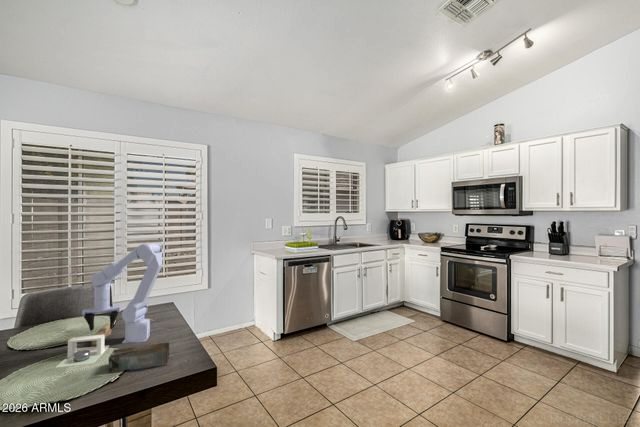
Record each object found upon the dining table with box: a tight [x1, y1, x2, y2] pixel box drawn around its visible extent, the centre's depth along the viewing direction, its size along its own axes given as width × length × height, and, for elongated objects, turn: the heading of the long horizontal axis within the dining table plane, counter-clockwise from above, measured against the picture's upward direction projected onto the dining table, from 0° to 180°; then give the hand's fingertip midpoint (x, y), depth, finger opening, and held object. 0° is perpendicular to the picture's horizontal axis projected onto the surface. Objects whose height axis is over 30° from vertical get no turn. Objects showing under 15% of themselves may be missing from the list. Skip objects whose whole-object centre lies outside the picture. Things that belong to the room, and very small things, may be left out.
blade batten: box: [91, 323, 112, 347], centre depth 140 cm, size 2×16×5 cm, turn 16°
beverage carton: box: [107, 342, 170, 375], centre depth 116 cm, size 8×19×7 cm, turn 112°
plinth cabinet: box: [67, 334, 106, 358], centre depth 124 cm, size 11×4×7 cm, turn 107°
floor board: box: [54, 344, 111, 368], centre depth 122 cm, size 12×17×1 cm
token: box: [73, 350, 90, 362], centre depth 119 cm, size 5×5×2 cm
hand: (101, 329), depth 140 cm, fingers open, 7 cm apart
